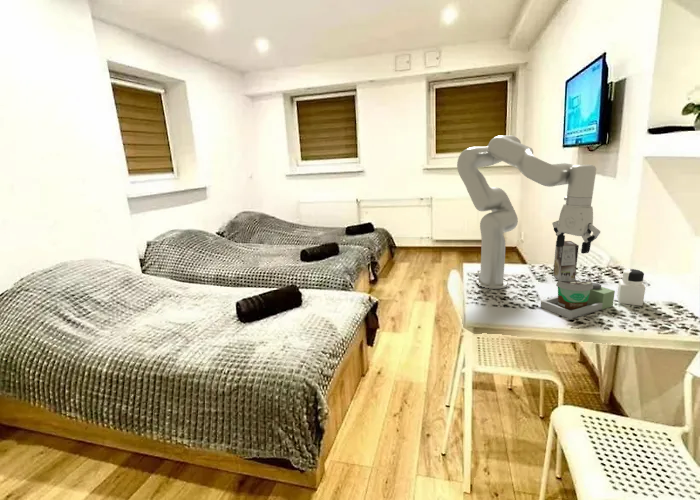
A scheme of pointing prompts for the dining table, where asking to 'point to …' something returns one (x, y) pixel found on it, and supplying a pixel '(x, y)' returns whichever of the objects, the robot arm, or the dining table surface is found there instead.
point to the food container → (573, 294)
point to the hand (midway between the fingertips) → (572, 249)
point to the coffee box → (566, 261)
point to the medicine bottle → (631, 287)
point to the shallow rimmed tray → (596, 302)
